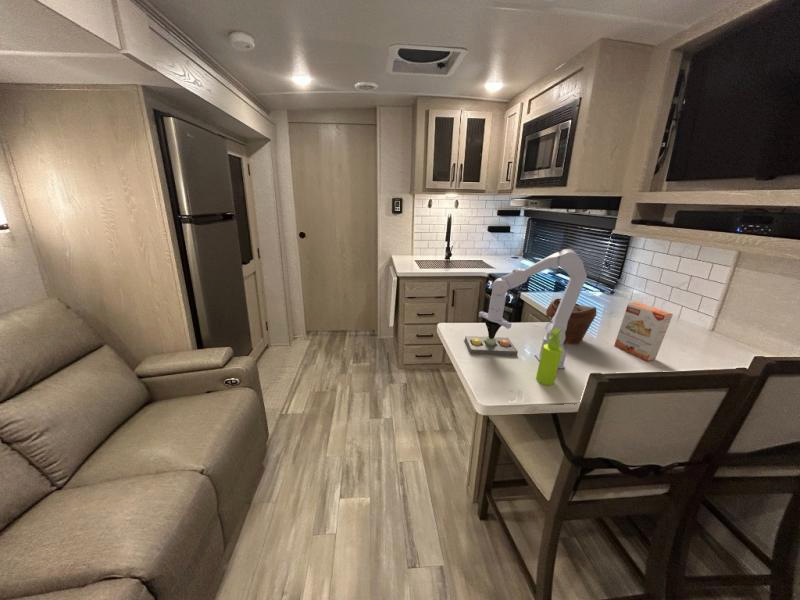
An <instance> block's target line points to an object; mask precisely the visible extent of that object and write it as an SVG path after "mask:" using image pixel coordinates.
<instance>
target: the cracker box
mask: <svg viewBox="0 0 800 600" xmlns="http://www.w3.org/2000/svg"><path fill="white" fill-rule="evenodd" d="M672 318H673V313H671V312H668V311H665V310H662V309H658V308H656V307H653V306H650V305H647V304H643V303H641V302H637V301H633V302H629V303H627V306H626V308H625V312H624V315H623V318H622V320H621V324H620V327H619V329H618V333H617V336H616V338H615V343H614V345H613V346H614V347H616V348H619V349H620V350H622V351H625V352H627V353H629V354H631V355H633V356H636V357H637V358H639V359H642V360H644V361H646V362H649V361H653V360H656V358H657V356H658V353H659V351H660V348H661V345H662V343H663V341H664V339H665V336H666V333H667V331H668V328H669V326H670V324H671V321H672Z"/></svg>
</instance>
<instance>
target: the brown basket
mask: <svg viewBox="0 0 800 600" xmlns="http://www.w3.org/2000/svg"><path fill="white" fill-rule="evenodd" d="M561 299H562V298H555V299H553V300H552V301H551V302H550V303H549V306H547V308H546V313H545V314H546V317H547V318H550V321H551V320H552V318H553V317H554V315H555V313H556V311H557V309H558V306H559V304H560V301H561ZM596 316H597V307H596V306H589V305H588V306H587V305H583V304H582V305H581V304H578V303H576V304H575V306H574V308H573V311H572V313H571V315H570V318H569V320H568V323H567V329H566V331H565V341H564V343H565V344H568V345H569V344H570V345H578V344H580V343H582V341H583V339H584V337H585V336H586V333H588V330H589V329H590V327H591V325H592V323H593V322H594V320H595V317H596Z"/></svg>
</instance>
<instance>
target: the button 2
mask: <svg viewBox="0 0 800 600" xmlns="http://www.w3.org/2000/svg"><path fill="white" fill-rule="evenodd" d="M510 341H511V340H510ZM510 341H508V340H505V339H501V340H500V344H499V345H500V346H501V347H509V345H510Z"/></svg>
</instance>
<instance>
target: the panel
mask: <svg viewBox="0 0 800 600" xmlns="http://www.w3.org/2000/svg"><path fill="white" fill-rule="evenodd" d="M473 338H478V339H481V340H482V342H481V346H478V345H472V344H471V343H472V339H473ZM486 338H487V336H473V335H465V337H464V342H465V344H466V345H467V348H468V351H469V354H471V355H489V356H490V355H493V356H516V357H517V356H518V353H519V350H518V349H517V348H516V347H515V345H514V344H513V342H512V341H511V339H510V338H509V337H497V336H495V338H496V344H495V346H487V345H486ZM501 339H505V340H508V341H510V345H509V347H501V346H500V345H499V344H500V340H501Z"/></svg>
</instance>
